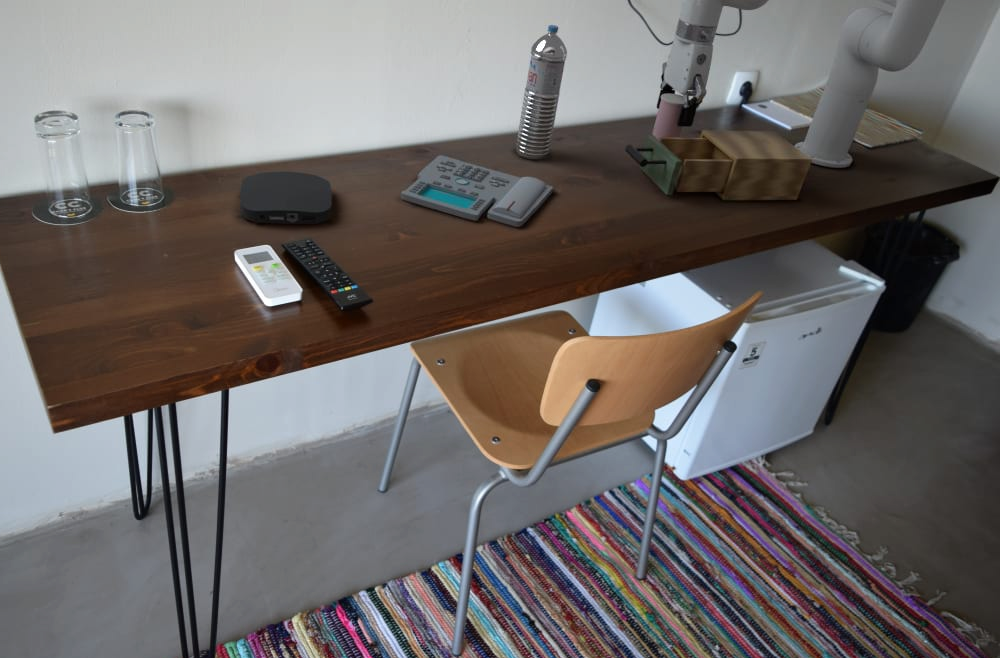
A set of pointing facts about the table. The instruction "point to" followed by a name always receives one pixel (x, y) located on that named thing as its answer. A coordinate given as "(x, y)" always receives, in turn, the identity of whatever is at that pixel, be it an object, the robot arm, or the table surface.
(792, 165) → the wood-grain box
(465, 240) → the table surface
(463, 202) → the office telephone
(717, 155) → the drawer
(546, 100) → the water bottle
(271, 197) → the media streaming box
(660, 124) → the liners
